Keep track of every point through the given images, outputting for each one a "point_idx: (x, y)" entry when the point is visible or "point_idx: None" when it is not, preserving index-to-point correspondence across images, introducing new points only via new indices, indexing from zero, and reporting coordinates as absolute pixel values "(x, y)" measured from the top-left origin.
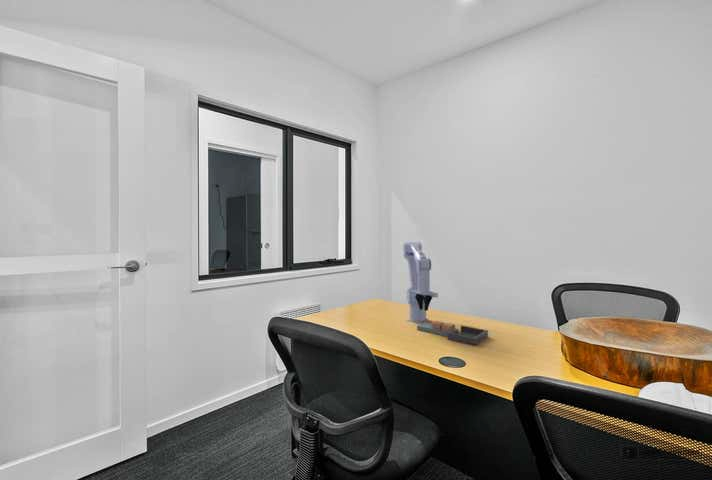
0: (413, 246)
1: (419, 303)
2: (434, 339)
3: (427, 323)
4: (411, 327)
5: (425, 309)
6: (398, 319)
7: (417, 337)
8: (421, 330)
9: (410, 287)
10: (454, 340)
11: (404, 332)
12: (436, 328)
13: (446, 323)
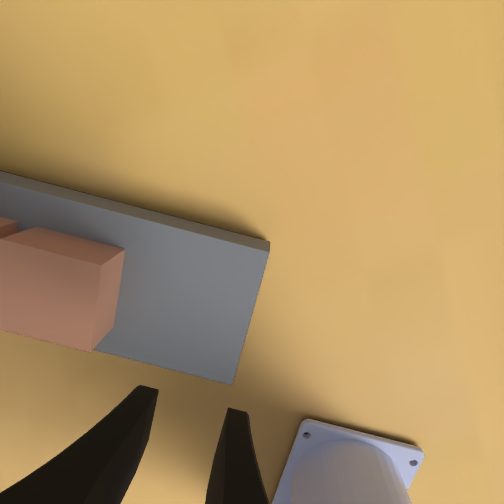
0: None
1: (231, 498)
2: (47, 43)
3: (200, 356)
4: (337, 295)
5: (134, 396)
6: (498, 459)
7: (203, 24)
8: (225, 230)
9: None
10: None
11: (362, 123)
12: (71, 235)
13: None
